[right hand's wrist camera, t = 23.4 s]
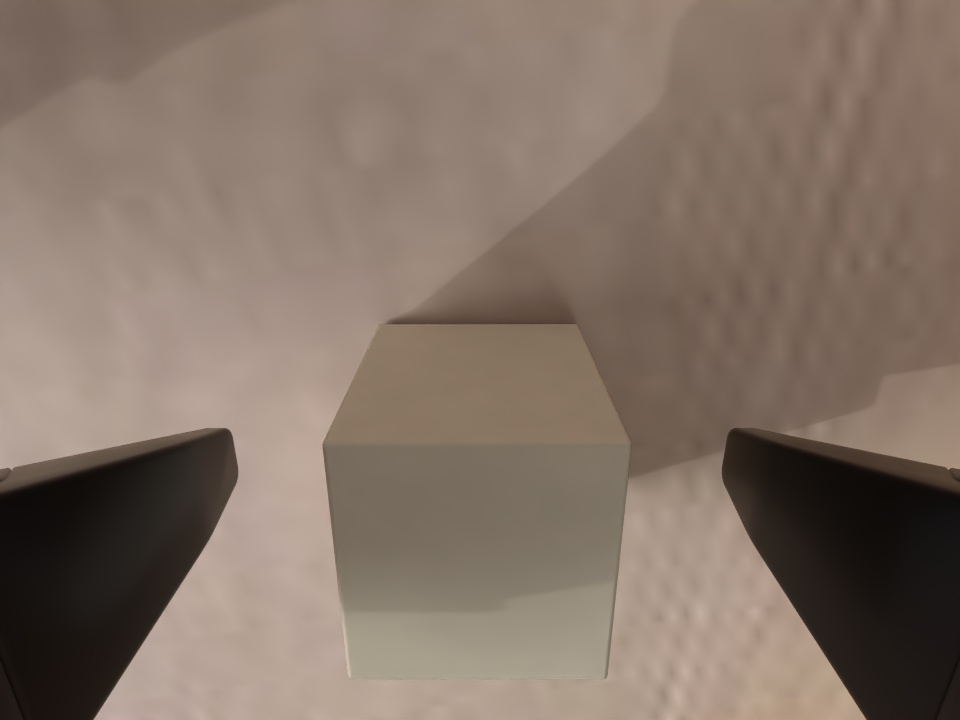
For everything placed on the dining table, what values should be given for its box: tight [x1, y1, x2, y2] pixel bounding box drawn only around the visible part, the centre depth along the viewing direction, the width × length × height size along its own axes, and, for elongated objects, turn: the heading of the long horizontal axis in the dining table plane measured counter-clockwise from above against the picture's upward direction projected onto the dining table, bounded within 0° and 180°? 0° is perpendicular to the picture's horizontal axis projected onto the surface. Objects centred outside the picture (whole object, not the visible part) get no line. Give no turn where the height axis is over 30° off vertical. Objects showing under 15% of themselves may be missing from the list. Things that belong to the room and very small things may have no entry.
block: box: [323, 324, 632, 680], centre depth 11 cm, size 4×4×5 cm
